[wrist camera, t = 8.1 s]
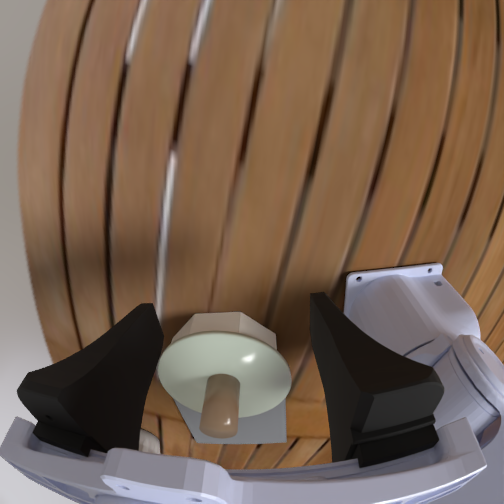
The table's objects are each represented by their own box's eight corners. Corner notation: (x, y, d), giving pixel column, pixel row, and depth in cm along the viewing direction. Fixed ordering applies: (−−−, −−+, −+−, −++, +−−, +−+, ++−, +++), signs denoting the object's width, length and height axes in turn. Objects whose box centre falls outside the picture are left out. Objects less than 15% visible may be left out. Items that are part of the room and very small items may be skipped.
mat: (284, 389, 30) (284, 391, 29) (286, 439, 35) (286, 441, 35) (171, 390, 30) (170, 393, 30) (197, 440, 36) (197, 442, 36)
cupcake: (140, 449, 40) (128, 495, 30) (102, 422, 36) (84, 471, 27) (181, 447, 38) (171, 500, 29) (142, 418, 34) (125, 476, 25)
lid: (308, 342, 22) (318, 397, 17) (273, 418, 28) (274, 462, 23) (158, 317, 22) (136, 369, 17) (161, 401, 27) (149, 444, 22)
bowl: (273, 309, 25) (275, 332, 22) (278, 380, 29) (280, 402, 26) (164, 314, 25) (155, 336, 23) (189, 383, 30) (184, 404, 27)
